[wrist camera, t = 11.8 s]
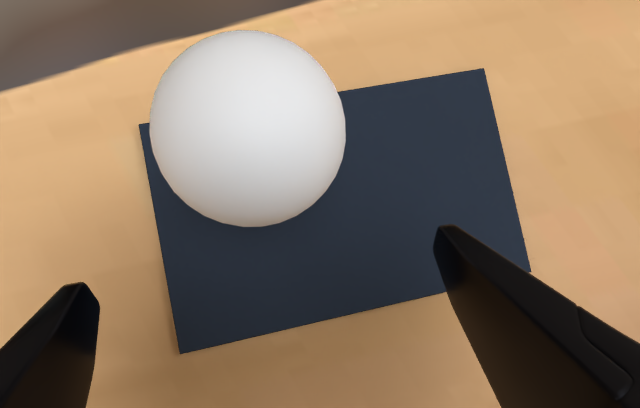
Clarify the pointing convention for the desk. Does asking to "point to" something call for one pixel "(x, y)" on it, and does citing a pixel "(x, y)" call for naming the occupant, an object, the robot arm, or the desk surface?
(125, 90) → the desk surface
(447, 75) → the felt mat
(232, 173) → the white rounded smooth part
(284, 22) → the desk surface
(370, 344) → the desk surface
